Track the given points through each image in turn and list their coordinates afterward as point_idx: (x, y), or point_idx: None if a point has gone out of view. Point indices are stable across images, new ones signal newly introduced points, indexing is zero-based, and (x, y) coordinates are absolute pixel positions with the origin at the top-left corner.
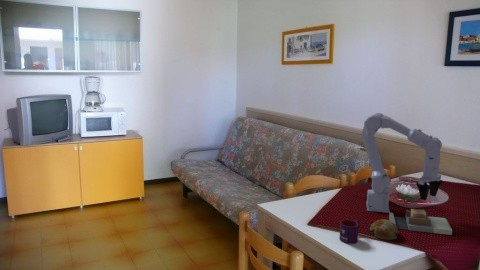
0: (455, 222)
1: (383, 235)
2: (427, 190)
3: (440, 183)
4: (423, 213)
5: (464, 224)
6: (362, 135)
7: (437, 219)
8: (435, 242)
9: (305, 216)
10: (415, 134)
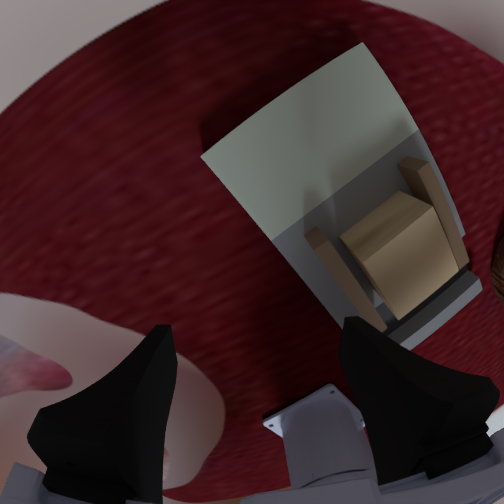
0: (142, 120)
1: None
2: (437, 368)
3: (101, 419)
4: (425, 229)
5: (127, 75)
6: None
7: (271, 176)
8: (474, 86)
9: (488, 422)
10: None
